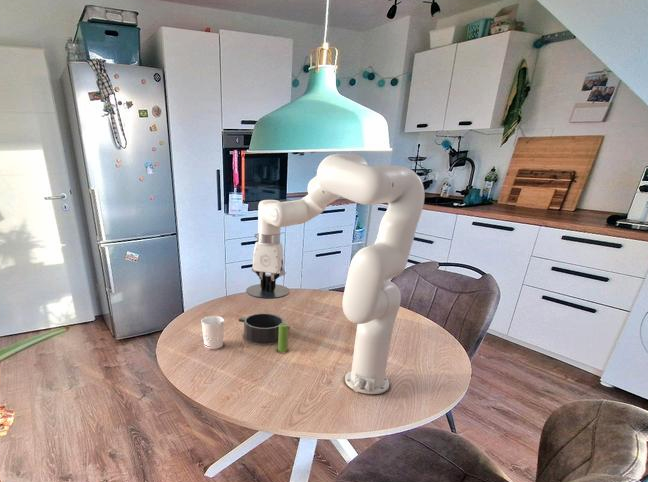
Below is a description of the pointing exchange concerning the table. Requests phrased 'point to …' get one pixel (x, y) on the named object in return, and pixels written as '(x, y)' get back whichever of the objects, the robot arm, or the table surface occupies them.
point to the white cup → (213, 331)
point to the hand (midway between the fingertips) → (267, 289)
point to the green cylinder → (283, 337)
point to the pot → (262, 328)
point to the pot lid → (267, 290)
